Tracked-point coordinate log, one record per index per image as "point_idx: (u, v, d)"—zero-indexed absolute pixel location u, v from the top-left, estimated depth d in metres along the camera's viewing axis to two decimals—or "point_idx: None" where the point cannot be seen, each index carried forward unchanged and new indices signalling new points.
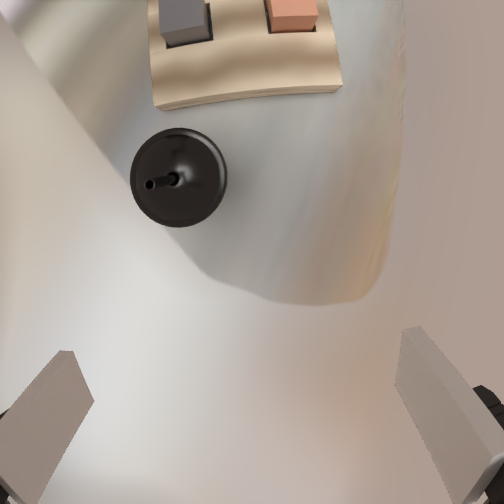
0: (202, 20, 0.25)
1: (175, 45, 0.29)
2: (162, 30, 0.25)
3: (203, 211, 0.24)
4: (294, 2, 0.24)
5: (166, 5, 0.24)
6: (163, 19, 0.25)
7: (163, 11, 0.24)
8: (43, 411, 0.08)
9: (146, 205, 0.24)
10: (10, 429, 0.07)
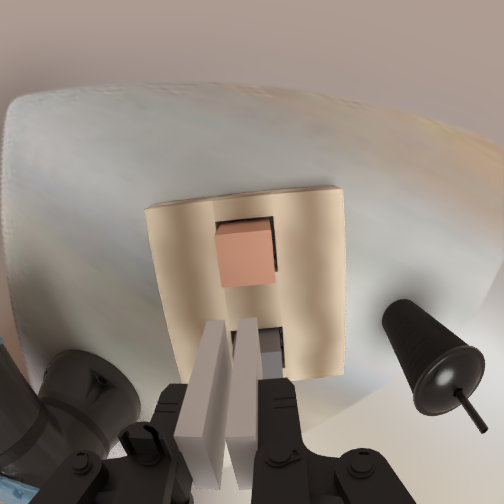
0: (275, 352, 0.28)
1: None
2: None
3: (480, 362, 0.22)
4: (252, 257, 0.26)
5: None
6: None
7: None
8: (219, 379, 0.10)
9: (461, 402, 0.23)
10: (208, 399, 0.09)
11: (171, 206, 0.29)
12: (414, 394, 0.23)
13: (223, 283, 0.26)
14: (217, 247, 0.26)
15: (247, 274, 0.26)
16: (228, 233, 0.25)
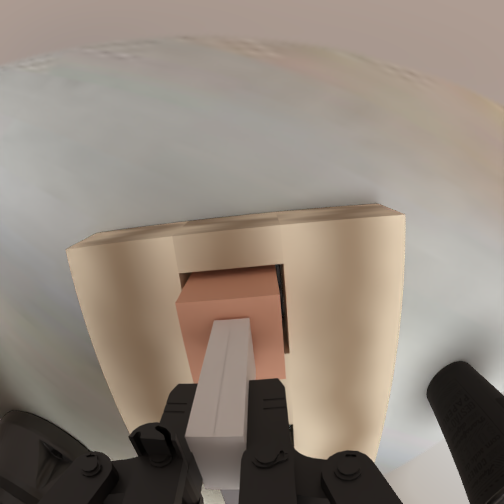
0: None
1: None
2: None
3: None
4: None
5: None
6: None
7: None
8: None
9: None
10: (219, 398, 0.09)
11: (105, 245, 0.16)
12: None
13: (196, 378, 0.14)
14: (182, 323, 0.14)
15: None
16: (200, 299, 0.14)
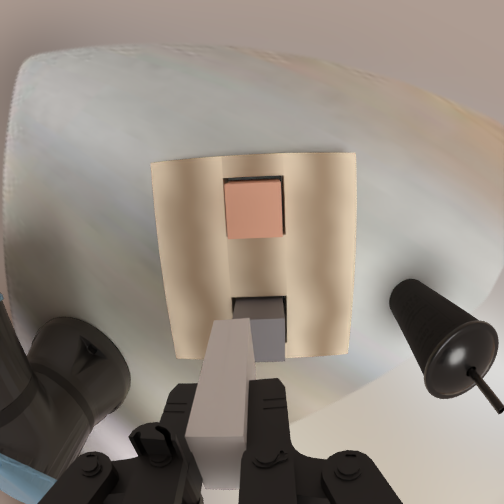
0: (278, 319, 0.27)
1: None
2: (281, 358, 0.28)
3: (494, 341, 0.20)
4: (260, 209, 0.26)
5: None
6: (266, 357, 0.28)
7: (254, 357, 0.28)
8: None
9: (472, 385, 0.22)
10: (219, 398, 0.09)
11: (179, 160, 0.27)
12: (425, 371, 0.22)
13: (229, 234, 0.26)
14: (226, 197, 0.25)
15: (254, 226, 0.26)
16: (238, 183, 0.25)
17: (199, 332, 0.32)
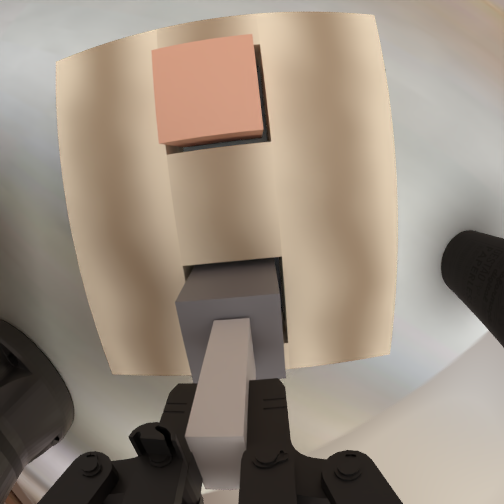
0: (266, 297, 0.13)
1: None
2: (278, 374, 0.14)
3: None
4: (216, 81, 0.12)
5: None
6: None
7: None
8: None
9: None
10: (219, 398, 0.09)
11: (94, 48, 0.14)
12: None
13: (162, 134, 0.13)
14: (155, 69, 0.12)
15: (207, 114, 0.12)
16: None
17: (138, 331, 0.18)
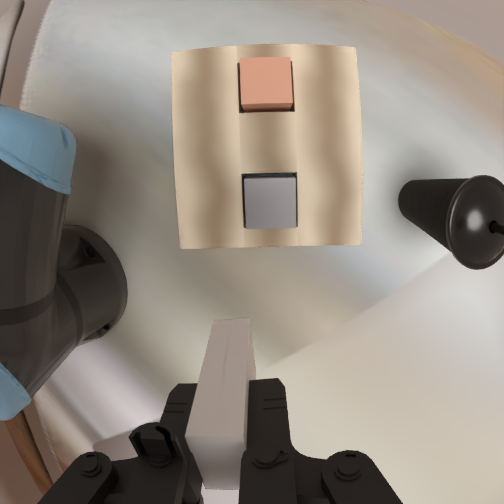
0: (289, 179, 0.27)
1: None
2: (292, 224, 0.28)
3: None
4: (271, 78, 0.25)
5: (257, 219, 0.28)
6: (277, 223, 0.28)
7: (265, 223, 0.28)
8: None
9: (497, 255, 0.21)
10: (219, 398, 0.09)
11: (198, 49, 0.27)
12: (447, 224, 0.21)
13: (243, 100, 0.26)
14: (241, 68, 0.25)
15: (266, 93, 0.25)
16: (252, 58, 0.25)
17: (206, 214, 0.31)
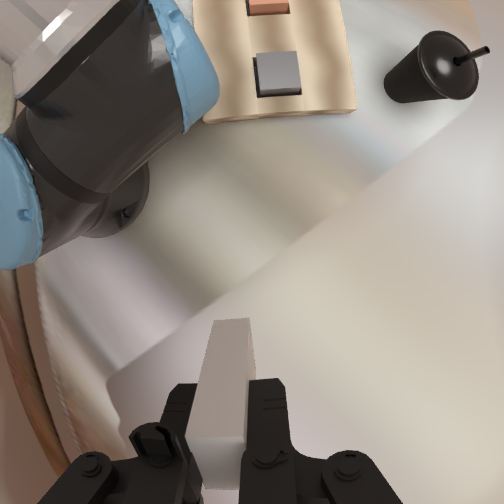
0: (291, 52, 0.30)
1: None
2: (298, 84, 0.31)
3: (468, 52, 0.23)
4: None
5: (269, 82, 0.31)
6: (285, 84, 0.31)
7: (276, 84, 0.31)
8: None
9: (469, 89, 0.24)
10: (219, 398, 0.09)
11: None
12: (419, 61, 0.24)
13: (251, 2, 0.28)
14: None
15: None
16: None
17: (225, 90, 0.34)
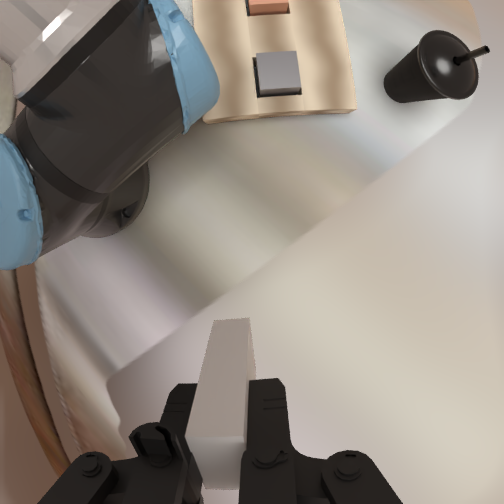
0: (291, 51, 0.30)
1: None
2: (298, 84, 0.31)
3: (468, 52, 0.23)
4: None
5: (269, 81, 0.31)
6: (285, 83, 0.31)
7: (275, 84, 0.31)
8: None
9: (469, 89, 0.24)
10: (219, 398, 0.09)
11: None
12: (419, 60, 0.24)
13: (251, 2, 0.28)
14: None
15: None
16: None
17: (225, 89, 0.34)
